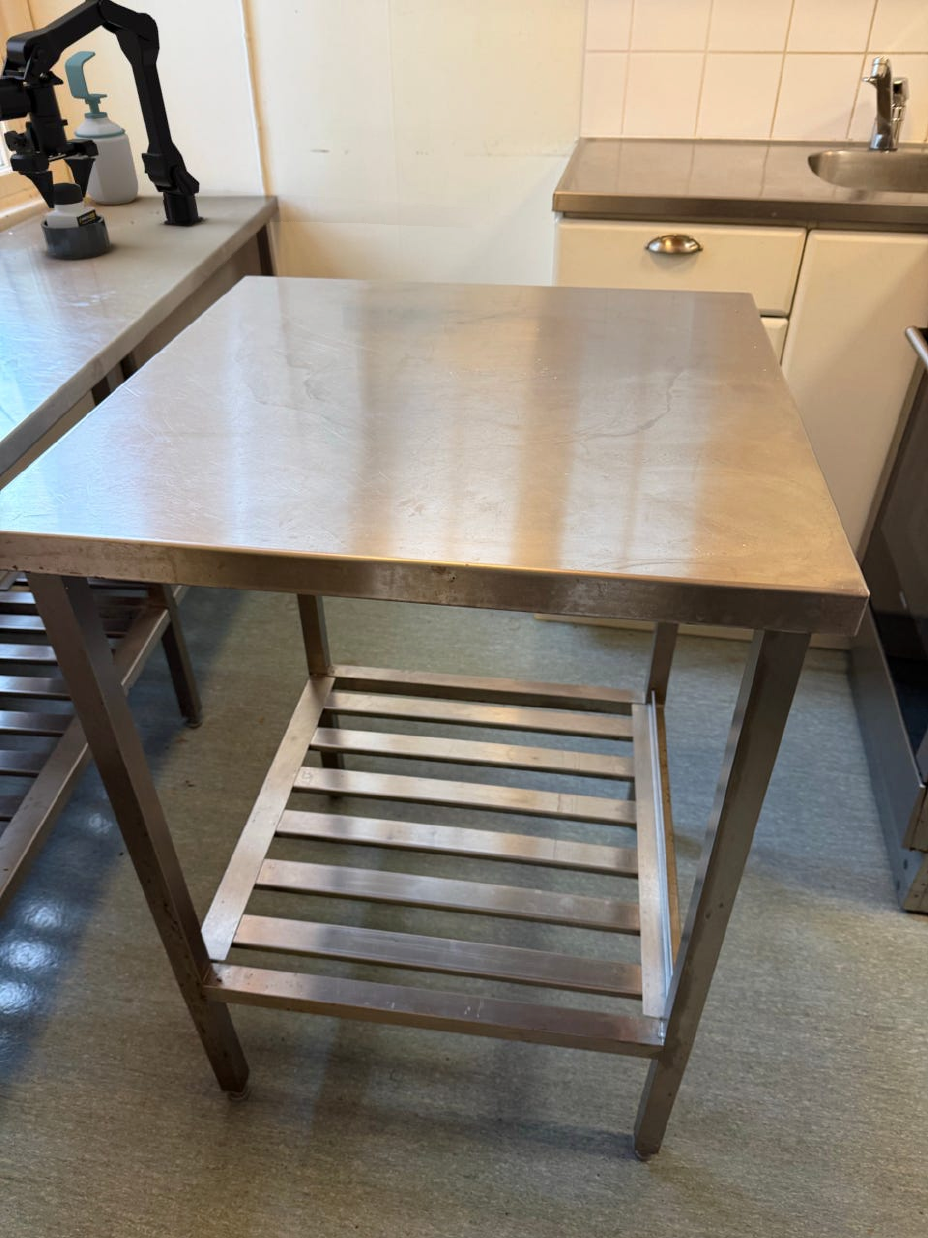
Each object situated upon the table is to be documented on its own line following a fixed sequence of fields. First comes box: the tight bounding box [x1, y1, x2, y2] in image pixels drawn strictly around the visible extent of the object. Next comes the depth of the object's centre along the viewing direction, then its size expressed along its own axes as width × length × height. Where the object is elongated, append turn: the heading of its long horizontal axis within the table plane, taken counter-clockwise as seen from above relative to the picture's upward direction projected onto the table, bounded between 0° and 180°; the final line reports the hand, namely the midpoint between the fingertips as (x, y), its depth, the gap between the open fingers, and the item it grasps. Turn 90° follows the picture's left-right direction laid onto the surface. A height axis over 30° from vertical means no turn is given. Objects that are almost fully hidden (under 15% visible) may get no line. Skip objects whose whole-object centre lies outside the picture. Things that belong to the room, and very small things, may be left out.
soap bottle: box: [64, 50, 139, 206], centre depth 211 cm, size 12×12×31 cm
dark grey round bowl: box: [40, 213, 112, 261], centre depth 183 cm, size 12×12×6 cm
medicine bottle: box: [44, 181, 98, 228], centre depth 181 cm, size 7×7×12 cm
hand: (67, 202), depth 179 cm, fingers open, 9 cm apart
